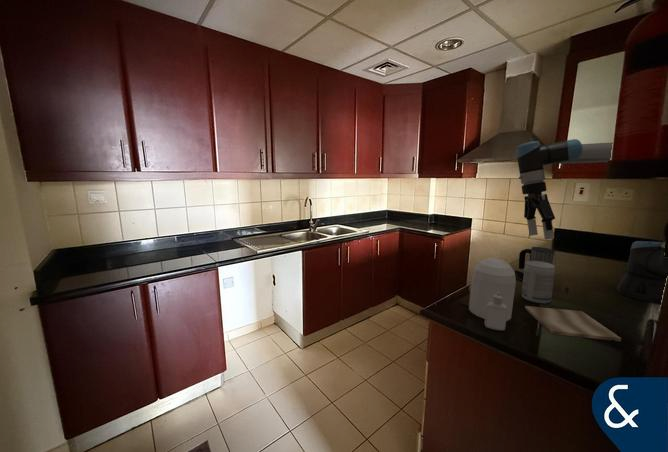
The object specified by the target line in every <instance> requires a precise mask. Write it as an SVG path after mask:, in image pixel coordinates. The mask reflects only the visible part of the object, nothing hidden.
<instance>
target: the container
mask: <svg viewBox="0 0 668 452" xmlns="http://www.w3.org/2000/svg"><path fill="white" fill-rule="evenodd" d="M514 271H515V270H514V269H513V267H512V265H510V264H509V263H507V262H506V261H505V260H503V259H500V258H496V257H487V258H485V259H482V260H480V261H478V263H475V265H474V267H473V271H472V274H471V283H470V293H469V303H468V310H469V311H470V313H472V314H473V315H475V316H477V317H478V318H481V319H484V320H485V314H486V306H487V303H489V302H493V297H494V295H496V294H497V292H500V296H502V297H503V299H502V304H504V305H505V306H506V307H507V318H506V322H508V321H510V320H511V319H512V313H513V307H514V300H515V299H514V298H515V291H516V282H517V279H516V275H515V272H514Z"/></svg>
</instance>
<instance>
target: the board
mask: <svg viewBox="0 0 668 452" xmlns="http://www.w3.org/2000/svg"><path fill="white" fill-rule="evenodd" d="M524 309H525V310H526V311H527V312H528V313H529V314H530V315H531V316H532V317H533V318H534V319H536V320H537V322H538V323H539V324H540V325H541V326H542V327H544V329H545V330H547V332H548V333H550V334H551V335H560V336H569V337H577V338H586V339H587V338H588V339H594V340H604V341H612V340H614V342H621V341H622V337H620V336H618V335H617V334H616V333H615V332H613V331H612V330H610V329H608V328H607V327H605V326H604V325H603V324H602V323H600V322H598V321H597V320H595V319H594V318H592V317H591V316H590V315H588V314H587V313H585V312H584V311H582V310H572V309H571V310H570V309H562V308H552V307H539V306H530V305H529V306H528V305H525V306H524Z"/></svg>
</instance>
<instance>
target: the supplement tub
mask: <svg viewBox="0 0 668 452" xmlns="http://www.w3.org/2000/svg"><path fill="white" fill-rule="evenodd" d="M555 272H556V266H555V265H554V264H553V263H552V264H550V263H546V262H540V261H529V260H525V267H524V269H523V273H524V276H523V281H522V287H521V297H522V298H523V299H524V300H527V301H528V302H532V303H537V304H550V303H551V302H552V295H553V288H554V282H555V274H556V273H555Z"/></svg>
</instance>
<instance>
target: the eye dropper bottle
mask: <svg viewBox="0 0 668 452" xmlns="http://www.w3.org/2000/svg"><path fill="white" fill-rule="evenodd" d="M502 299H503V297H502V296H500V292H497V294H496V295H494V297H493V302H489V303H487V306H486V314H485V319H484V326H485V328H488V329H491V330H494V331H505V330H506V325H507V321H506V318H507V307H506V306H505V305H504V304H502Z"/></svg>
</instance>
